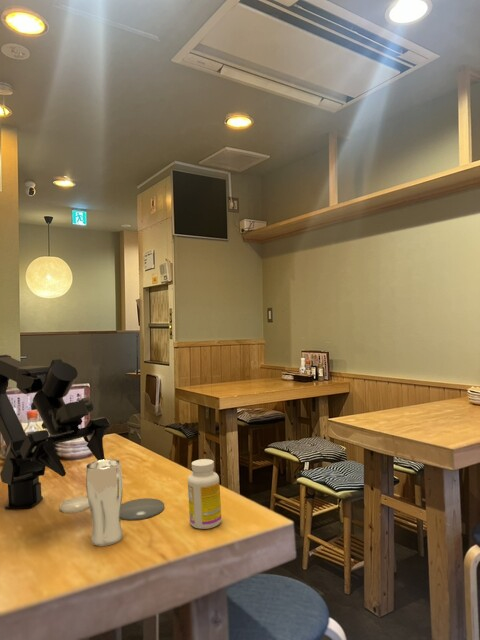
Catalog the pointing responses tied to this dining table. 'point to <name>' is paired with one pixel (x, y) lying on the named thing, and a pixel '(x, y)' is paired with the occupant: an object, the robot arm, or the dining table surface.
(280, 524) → the dining table surface
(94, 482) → the beer glass
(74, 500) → the dish
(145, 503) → the coaster
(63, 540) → the dining table surface
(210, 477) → the supplement bottle
